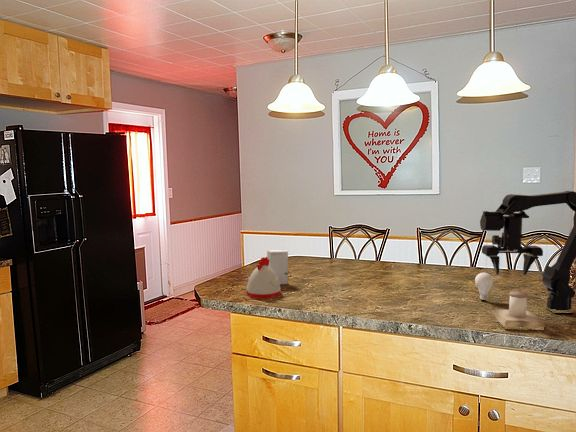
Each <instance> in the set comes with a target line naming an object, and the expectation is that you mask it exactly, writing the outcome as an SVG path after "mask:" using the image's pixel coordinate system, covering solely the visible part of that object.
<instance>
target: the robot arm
mask: <svg viewBox="0 0 576 432" xmlns="http://www.w3.org/2000/svg"><path fill="white" fill-rule="evenodd" d="M561 204H562V205H563V204H566V205H567V206H568V208H570V209H571V210H572V211H573V212H574V214H573V217H572V218H573V221H572V222H573V224H572V225H573V226H572V228H571V230H570V232H569V234H568V237H567V239H566V240H565V243H564V245H563V247H562V250H561V251H560V253H559V255H558V257H557V260H556V261H555V263H554V264H553V265H552V266H550V265H546V267H545V269H544V272H543V273H542V274H541V276H542V279H541V281H542V283H543V286H544V287H546V289H547V292H549V293H548V296H547V298H546V299H547V300H546V307H548V308H550V309H556V310H569V309H571V310H572V303H573V302H572V299H573V298H574V296H575V295H576V291H575V290H574V289H573V287H571V286H570V285H569V283H570V280H571V269H572V266H573V264H574V262H575V260H576V191H573V190H564V191H559V192H550V193H541V194H531V195H525V194H510V193H509V194H506V195H505V196H504V197H503V199H502V203H501V204H500V206H499V207H498V208H497V209H496V210H495V211H487V210H484V211H482V215H481V217H480V220H479V225H480V226H479V227H480V229H481V231H483V232H484V231H486V232H490V231H496V232H497V231H501V230H502V229H503V232H501V236H499V235H498V234H497V235H493V234H492V237H491V243H492V244H491V245H487V244H483V245H482V247H481V254H483V255H485V256H486V257H487V258H489V259H490V261H491V263H492V266H493V268H494V269H493V270H494V272H495V274H496V276H498V275H499V273H500V259H501V257H500V256H498V255H499V254H523V255H522V256H523V258H524V259H523V268H522V270H523V271H522V275H523V276H526V275H527V273H528V271H529V270H530V268H531V267H532V264H534V262H535V261H536V259H539V257H543V255H544V251H543V248H542V247H540V246H537V245H524V247H523V246H522V239H523V238H524V234H522V232H523V219H529V218H530V215H528V214H527V213H526V212H525V211H527V210H530V209H531V208H535V207H541V206H550V205H551V206H552V205H553V206H554V205H561ZM495 245H496V246H495Z"/></svg>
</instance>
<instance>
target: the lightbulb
mask: <svg viewBox="0 0 576 432" xmlns="http://www.w3.org/2000/svg"><path fill="white" fill-rule="evenodd" d="M474 283H475V285H476V287H477V288H478V292H479V300H480V299H482V300H486V299H487V300H488V293H489V292H490V289H491V288H492V286H493V284H494V279H493V277H492V275H491V274H489V273H488V272H479V273H478V274H476V275H475V278H474ZM487 300H486V301H487Z"/></svg>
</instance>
